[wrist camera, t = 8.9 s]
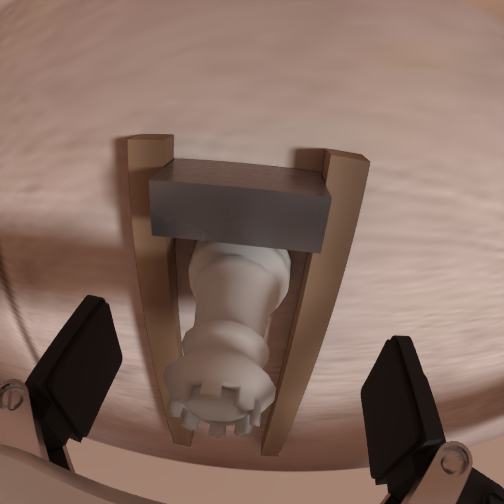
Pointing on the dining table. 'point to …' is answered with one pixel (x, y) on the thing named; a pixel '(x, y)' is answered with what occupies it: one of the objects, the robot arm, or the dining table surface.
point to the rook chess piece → (228, 337)
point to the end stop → (240, 204)
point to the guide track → (310, 296)
